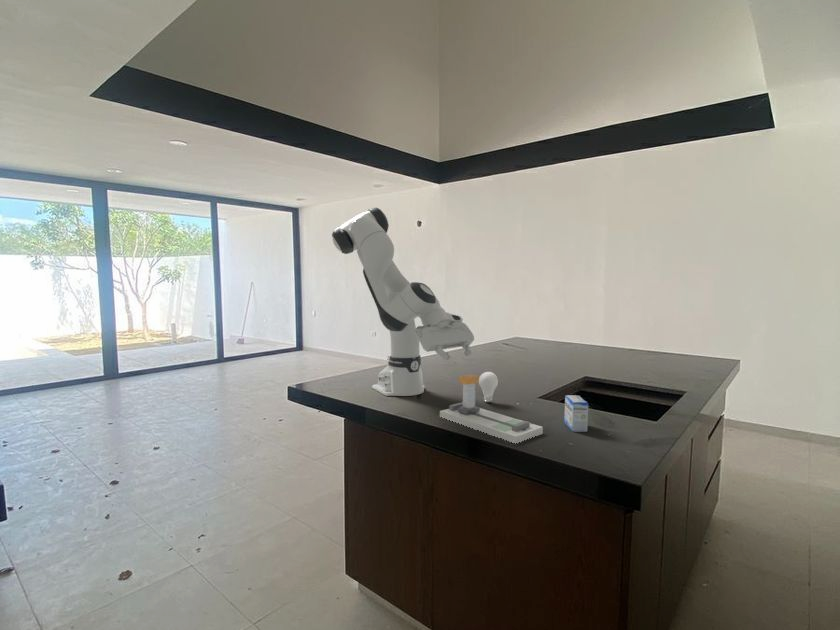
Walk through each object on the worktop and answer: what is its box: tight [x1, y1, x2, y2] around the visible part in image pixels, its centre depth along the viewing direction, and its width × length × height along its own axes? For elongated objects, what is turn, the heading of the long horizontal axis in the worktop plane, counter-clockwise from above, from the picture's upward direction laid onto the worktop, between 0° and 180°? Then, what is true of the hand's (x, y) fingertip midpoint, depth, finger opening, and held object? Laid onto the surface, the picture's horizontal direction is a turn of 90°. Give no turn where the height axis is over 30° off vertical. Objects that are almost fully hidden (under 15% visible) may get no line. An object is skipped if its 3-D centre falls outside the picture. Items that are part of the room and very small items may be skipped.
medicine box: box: [563, 394, 589, 433], centre depth 129 cm, size 8×4×9 cm, turn 178°
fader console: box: [439, 401, 544, 445], centre depth 132 cm, size 30×12×4 cm, turn 40°
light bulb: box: [478, 371, 499, 404], centre depth 155 cm, size 7×7×11 cm
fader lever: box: [458, 373, 481, 415], centre depth 137 cm, size 4×6×11 cm
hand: (458, 356), depth 140 cm, fingers open, 8 cm apart
